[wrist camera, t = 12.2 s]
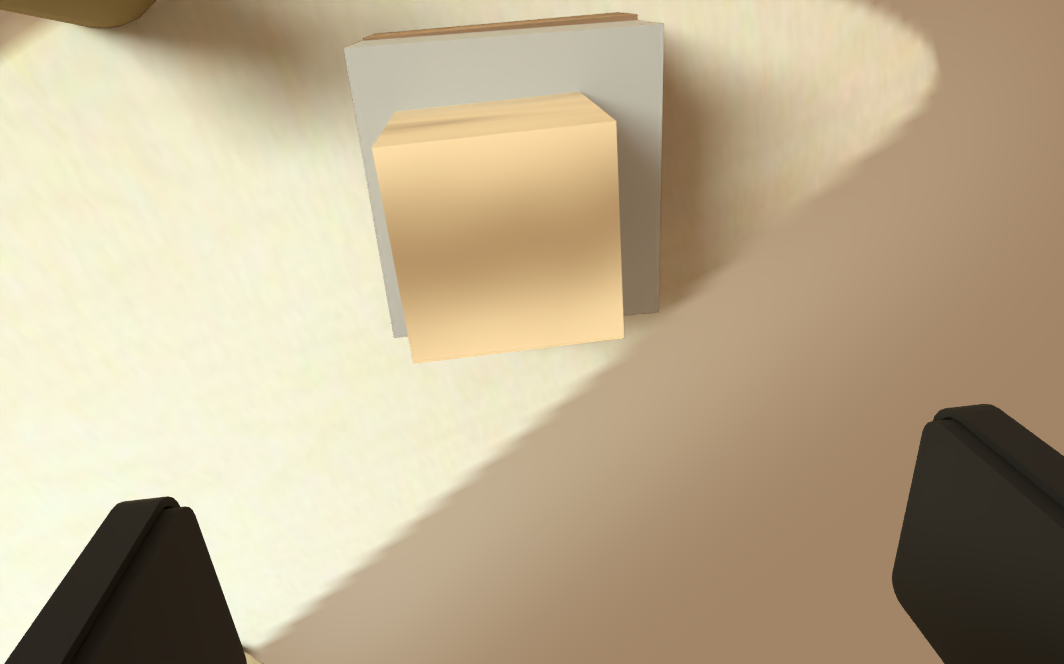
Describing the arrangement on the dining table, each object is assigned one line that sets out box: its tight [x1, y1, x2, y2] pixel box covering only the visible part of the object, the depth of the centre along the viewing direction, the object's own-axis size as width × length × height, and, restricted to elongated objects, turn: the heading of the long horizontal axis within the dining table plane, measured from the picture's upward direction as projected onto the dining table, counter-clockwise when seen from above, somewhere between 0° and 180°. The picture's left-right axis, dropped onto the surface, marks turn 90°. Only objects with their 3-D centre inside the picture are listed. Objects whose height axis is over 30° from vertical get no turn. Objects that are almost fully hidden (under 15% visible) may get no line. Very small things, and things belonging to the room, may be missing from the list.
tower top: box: [344, 20, 664, 338], centre depth 25 cm, size 10×10×4 cm
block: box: [372, 92, 624, 364], centre depth 21 cm, size 6×6×6 cm
